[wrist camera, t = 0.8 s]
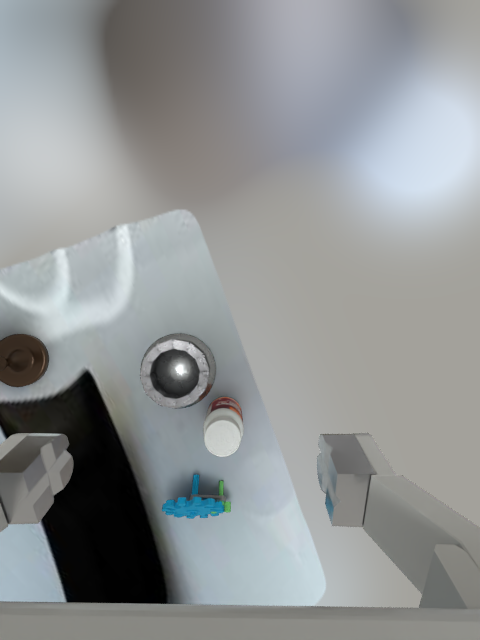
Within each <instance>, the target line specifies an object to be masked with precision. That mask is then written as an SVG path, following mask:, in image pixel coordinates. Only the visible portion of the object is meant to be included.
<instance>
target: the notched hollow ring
mask: <svg viewBox="0 0 480 640" xmlns="http://www.w3.org/2000/svg"><path fill="white" fill-rule="evenodd" d="M215 373H216V366H215V361H214V357H213V355H212V353H211V351H210V350H209V348H208V347H207V346H206V345H205V344H204V343H203V342H202V341H201V340H199V339H197V338H196V337H193V336H191V335H187V334H172V335H168V336H165V337H162V338H160V339H159V340H157V341H156V342H154V343H153V344H152V345H151V346H150V347H149V349H148V350H147V351H146V353H145V355H144V357H143V360H142V363H141V373H140V376H141V377H140V379H141V382H142V385H143V388H144V390H145V393H147V394H146V395H148V396H149V397H150V398H151V399H152V400H153V401H155V402H156V403H157V404H158V405H160V404H161V405H160V406H165V407H169V408H176V409H177V408H186V407H189V406H192V405H194V404H196V403H198V402H199V401H201V400H202V399H203V398H204V397H205V396H206V395H207V394H208V392H209V391H210V389H211V387H212V385H213V382H214V379H215Z"/></svg>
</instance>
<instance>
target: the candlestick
mask: <svg viewBox="0 0 480 640" xmlns="http://www.w3.org/2000/svg"><path fill="white" fill-rule="evenodd" d="M48 363H49V355H48V351H47V349H46V347H45V345H44V344H43V343H42V342H41V341H40V340H39V339H38V338H36V337H34V336H31V335H28V334H15V335H11V336H8V337H6V338H4V339H3V340H1V341H0V381H2V382H3V383H5V384H7V385H9V386H13V387H23V386H26V385H30V384H33V383H35V382H36V381H38V380H39V379H40V378H41V377H42V376H43V375H44V373H45V372H46V370H47V367H48Z"/></svg>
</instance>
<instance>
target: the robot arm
mask: <svg viewBox="0 0 480 640" xmlns="http://www.w3.org/2000/svg"><path fill="white" fill-rule="evenodd" d="M68 445H69V443H68V439H67V436H65V435H63V434H39V433H33V434H29V433H17V434H14V435H11V436H10V437H9V438H8V439H7V440H5V441H4V442H3V443H2V444H1V445H0V532H1V531H3V530H4V529H5V528H6V527H8V524H38V523H39V522H40V520H41V519H42V518H43V516H44V515H45V514H46V512H47V511H48V509H49V508H50V507H51V505H52V504H53V502H54V495H55V494H56V493H58V492H59V491H61V490H62V489H64V487H65V486H66V484H67V483H68V481H69V479H70V477H71V474H72V471H73V459H72V456H71V455H70V454H69V453H68V452H67V451H66V449H67V447H68ZM318 445H319V448H320V451H321V453H320V454H319V455H318V456H317V472H318V479H319V483H320V487H321V490H322V491H323V492H324V493H325V494H326V502H325V504H326V508H327V511H328V514H329V518H330V521H331V524H332V526H347V527H363V529H364V530H365V531H366V533H367V534H368V535H369V536H370V537H371V538H372V539H373V540H374V542H375V543H376V544H377V545H378V546H379V547H380V548H381V549H382V550H383V552H385V554H386V555H387V556H388V557H389V558H390V559H391V560H392V561H393V563H394V564H395V565H396V566H397V567H398V568H399V569H400V570H401V571H402V573H403V574H404V575H405V576H406V577H407V578H408V579H409V580H410V581H411V582H412V584H413V585H414V586H415V587H416V588H417V589H418V590H419V591H420V592H421V594H422V598H421V601H420V605H419V608H390V607H387V608H386V607H384V608H383V607H324V606H259V605H193V604H125V603H63V602H3V601H0V640H480V527H479V526H477V525H475V524H474V523H473V522H471V521H470V520H468V519H467V518H465V517H464V516H462V515H461V514H459V513H458V512H456V511H455V510H453V509H452V508H450V507H449V506H447V505H446V504H444V503H443V502H441V501H440V500H438V499H437V498H435V497H434V496H432V495H431V494H429V493H428V492H426V491H425V490H423V489H422V488H420V487H419V486H417V485H416V484H414V483H413V482H412V481H410V480H409V479H407V478H405V477H404V476H403V475H396V473H395V472H394V470H393V469H392V467H391V465H390V464H389V462H388V460H387V459H386V457H385V456H384V454H383V453H382V451H381V449H380V448H379V446H378V445H377V443H376V442H375V440H374V438H373V437H372V435H370V434H369V433H355V434H354V433H353V434H320V436H319V444H318Z"/></svg>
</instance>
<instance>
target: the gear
mask: <svg viewBox="0 0 480 640" xmlns="http://www.w3.org/2000/svg"><path fill="white" fill-rule="evenodd" d="M198 486H199V475H193V486H192V495H190V499H189V501H186V498H185V497H180V498H178V501H177V502H175V500H167V501H166V503H165V504H163V507H162V511H166V513H165V514H166V515H172V514H174V517H182V516H187V518H192V519H193V518H194V517H195V516H197V515H200V518H207V517H208V514H211V516H218V515H219V513H223V512H231V502H226V496H223V481H219V495H198ZM201 500H202V501H201ZM215 501H216V502H215Z"/></svg>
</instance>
